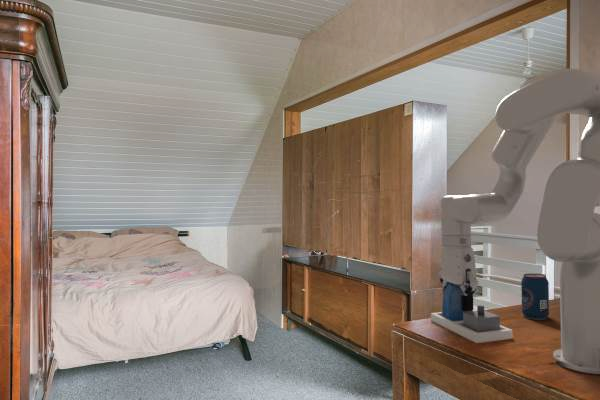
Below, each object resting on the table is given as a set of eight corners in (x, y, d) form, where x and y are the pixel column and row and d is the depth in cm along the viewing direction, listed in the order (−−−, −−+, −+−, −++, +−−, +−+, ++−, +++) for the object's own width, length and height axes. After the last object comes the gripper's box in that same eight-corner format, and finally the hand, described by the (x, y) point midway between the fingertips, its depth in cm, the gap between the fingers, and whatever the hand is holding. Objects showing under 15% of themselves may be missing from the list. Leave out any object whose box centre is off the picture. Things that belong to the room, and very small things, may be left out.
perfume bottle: (464, 313, 125) (466, 270, 124) (472, 321, 119) (474, 276, 118) (442, 312, 126) (443, 270, 124) (448, 320, 119) (450, 276, 118)
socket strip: (512, 342, 109) (512, 330, 109) (476, 347, 106) (476, 334, 106) (462, 320, 128) (462, 309, 128) (431, 323, 126) (430, 313, 126)
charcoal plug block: (499, 336, 110) (499, 308, 110) (478, 339, 109) (477, 310, 109) (484, 329, 116) (483, 302, 116) (463, 332, 115) (462, 304, 115)
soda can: (516, 314, 133) (515, 273, 132) (538, 313, 134) (537, 272, 134) (532, 321, 126) (531, 278, 126) (555, 319, 127) (554, 276, 127)
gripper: (489, 243, 114) (491, 313, 115) (450, 237, 131) (451, 298, 131) (463, 245, 112) (465, 316, 113) (426, 239, 129) (428, 300, 129)
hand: (457, 306), depth 122 cm, fingers closed on perfume bottle, 7 cm apart
